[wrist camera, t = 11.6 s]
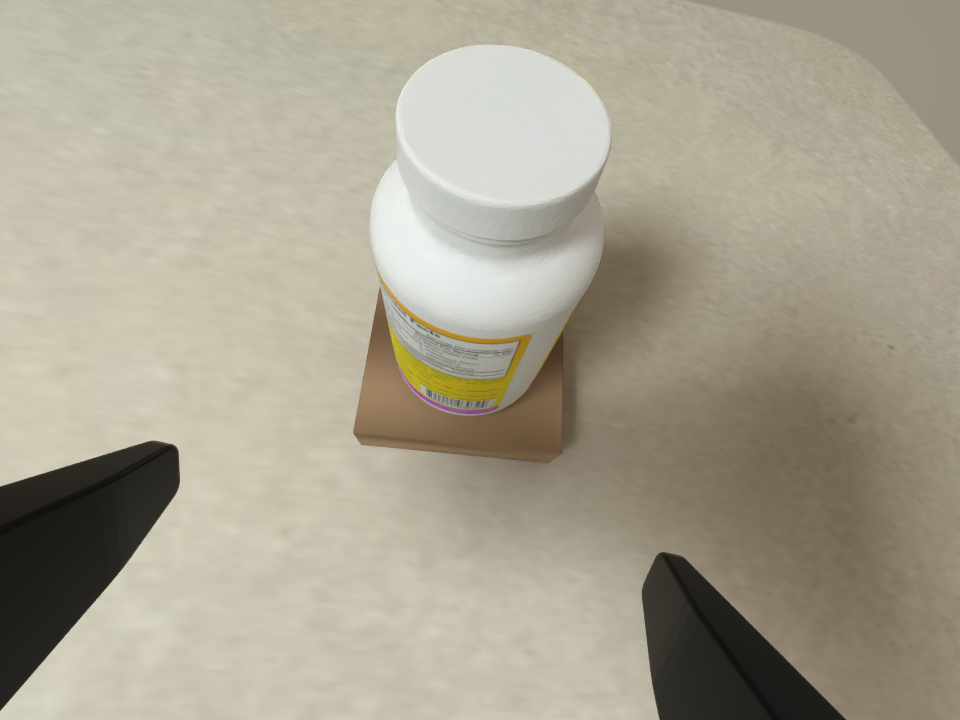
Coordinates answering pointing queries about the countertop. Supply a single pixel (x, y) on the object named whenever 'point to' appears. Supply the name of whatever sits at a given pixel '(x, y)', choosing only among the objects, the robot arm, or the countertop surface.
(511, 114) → the supplement bottle
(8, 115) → the countertop surface
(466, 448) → the walnut block
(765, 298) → the countertop surface
